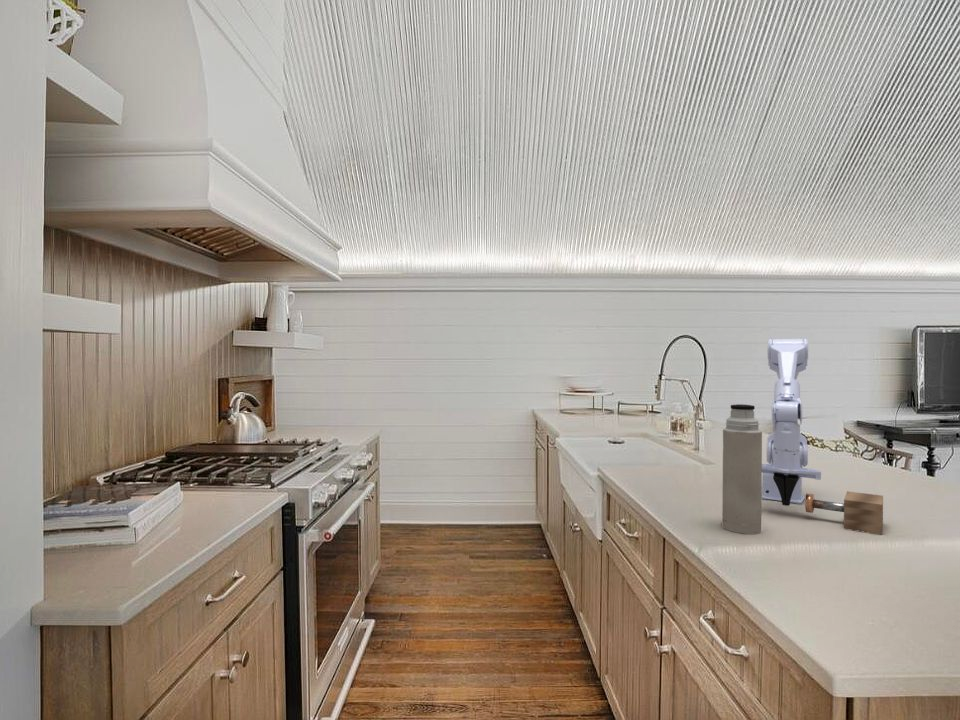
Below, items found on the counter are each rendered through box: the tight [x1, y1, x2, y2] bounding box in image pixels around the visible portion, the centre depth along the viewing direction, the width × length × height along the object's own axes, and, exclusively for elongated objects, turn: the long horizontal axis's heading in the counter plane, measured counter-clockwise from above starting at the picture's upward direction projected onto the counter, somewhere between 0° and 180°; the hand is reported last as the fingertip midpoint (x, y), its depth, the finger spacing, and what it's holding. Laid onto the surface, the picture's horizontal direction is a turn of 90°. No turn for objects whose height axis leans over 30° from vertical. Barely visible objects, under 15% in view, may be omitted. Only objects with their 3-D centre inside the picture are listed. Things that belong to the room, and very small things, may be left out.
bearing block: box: [843, 490, 884, 535], centre depth 128 cm, size 7×10×7 cm
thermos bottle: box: [721, 403, 763, 535], centre depth 125 cm, size 8×8×28 cm
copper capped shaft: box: [804, 493, 844, 514], centre depth 131 cm, size 11×4×4 cm, turn 53°
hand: (786, 504), depth 137 cm, fingers closed
